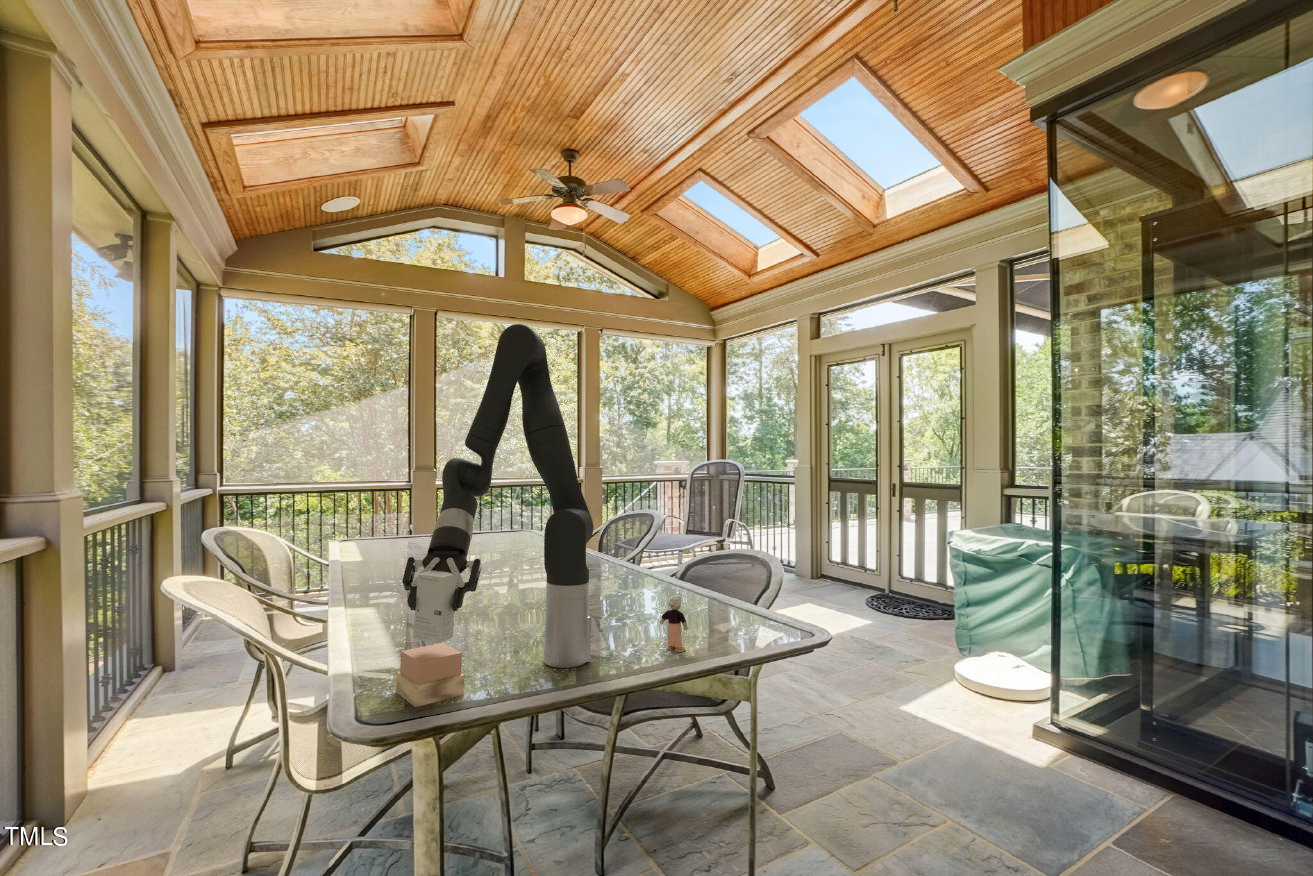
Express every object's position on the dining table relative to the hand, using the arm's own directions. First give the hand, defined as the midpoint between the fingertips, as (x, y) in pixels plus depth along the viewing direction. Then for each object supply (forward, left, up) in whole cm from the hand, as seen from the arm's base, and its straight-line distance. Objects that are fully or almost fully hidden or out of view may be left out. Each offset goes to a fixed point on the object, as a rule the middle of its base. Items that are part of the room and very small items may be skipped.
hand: (433, 608), depth 112 cm
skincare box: (-1, -1, -6) cm, 6 cm away
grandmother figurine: (-56, -2, -16) cm, 58 cm away
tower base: (0, -2, -16) cm, 17 cm away
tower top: (0, -2, -12) cm, 12 cm away
